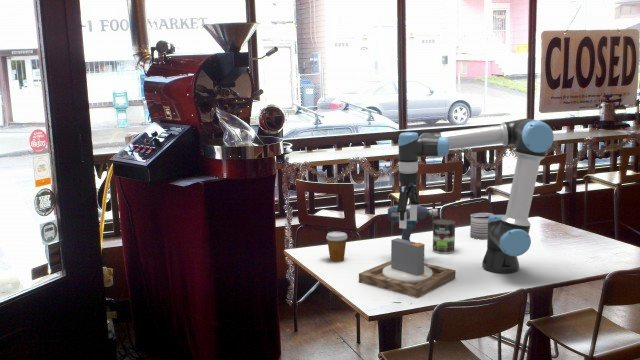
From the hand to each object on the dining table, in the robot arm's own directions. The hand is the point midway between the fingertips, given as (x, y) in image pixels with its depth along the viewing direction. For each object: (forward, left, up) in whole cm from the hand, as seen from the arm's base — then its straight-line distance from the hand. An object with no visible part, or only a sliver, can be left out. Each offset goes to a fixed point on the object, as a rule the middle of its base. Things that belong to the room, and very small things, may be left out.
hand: (408, 224), depth 252 cm
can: (+8, -78, -24) cm, 82 cm away
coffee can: (+10, -45, -24) cm, 52 cm away
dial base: (0, 0, -23) cm, 23 cm away
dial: (0, 0, -21) cm, 21 cm away
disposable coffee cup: (+40, -3, -24) cm, 47 cm away
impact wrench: (+14, -25, -24) cm, 37 cm away
